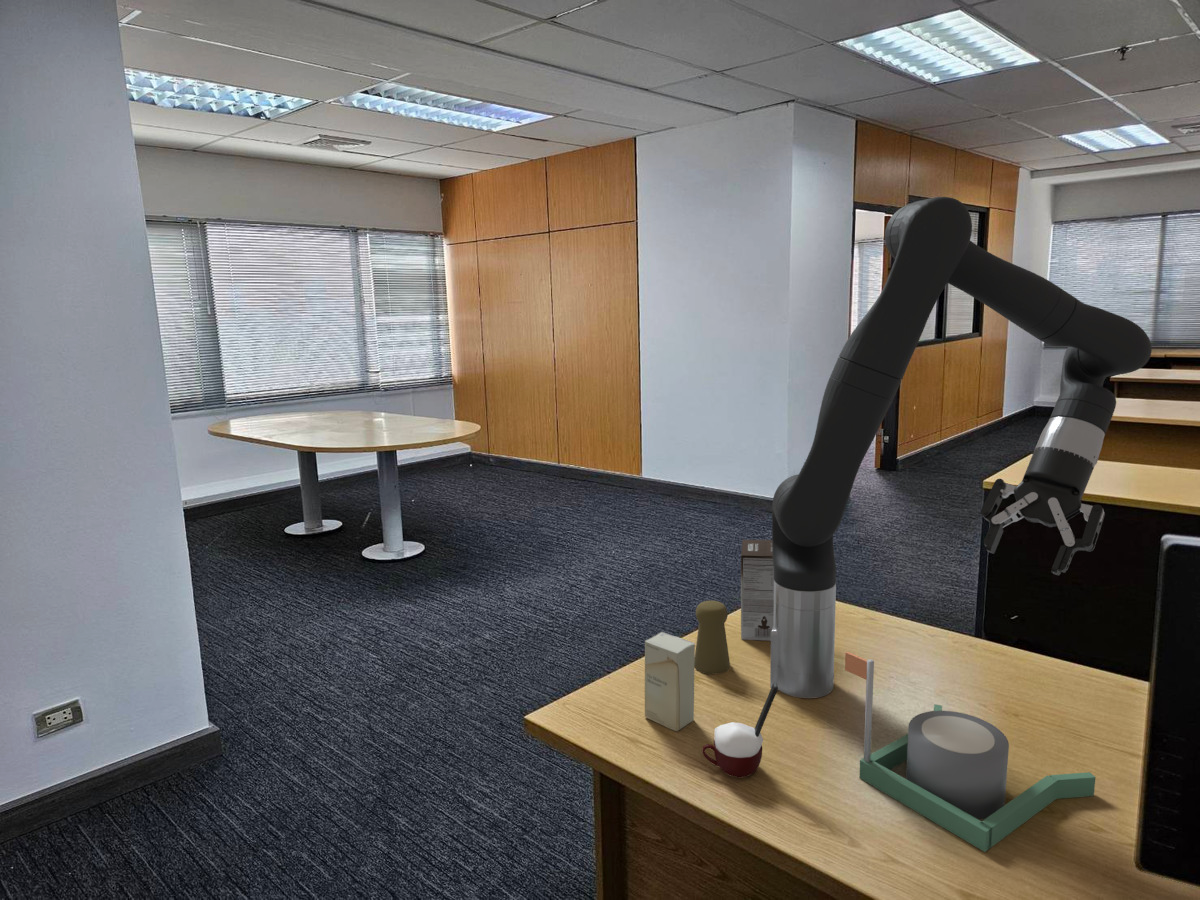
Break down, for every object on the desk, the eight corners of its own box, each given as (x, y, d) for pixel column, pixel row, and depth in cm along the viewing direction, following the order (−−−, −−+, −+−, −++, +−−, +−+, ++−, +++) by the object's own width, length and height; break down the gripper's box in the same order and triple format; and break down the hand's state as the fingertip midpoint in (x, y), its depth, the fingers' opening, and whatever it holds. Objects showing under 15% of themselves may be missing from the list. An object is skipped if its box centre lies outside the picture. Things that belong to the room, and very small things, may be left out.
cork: (708, 653, 132) (708, 593, 129) (737, 664, 127) (737, 602, 125) (686, 666, 127) (685, 604, 125) (715, 677, 123) (715, 613, 121)
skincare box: (643, 717, 112) (641, 640, 110) (662, 705, 115) (661, 630, 113) (678, 733, 108) (676, 653, 106) (696, 720, 111) (695, 642, 109)
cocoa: (699, 776, 99) (693, 691, 96) (716, 749, 104) (710, 668, 102) (771, 793, 94) (767, 705, 92) (785, 764, 100) (781, 680, 97)
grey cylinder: (904, 807, 91) (907, 749, 89) (907, 756, 101) (909, 703, 99) (1008, 829, 87) (1013, 768, 85) (1000, 773, 97) (1004, 718, 95)
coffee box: (741, 619, 145) (741, 538, 142) (776, 620, 144) (776, 539, 141) (740, 640, 136) (740, 554, 133) (777, 642, 135) (778, 555, 132)
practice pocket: (931, 717, 110) (936, 612, 107) (1095, 794, 92) (1107, 671, 89) (840, 766, 99) (843, 651, 96) (1005, 864, 81) (1016, 727, 78)
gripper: (1005, 434, 109) (962, 538, 108) (1120, 460, 99) (1074, 574, 98) (1016, 453, 114) (975, 551, 113) (1126, 479, 104) (1083, 587, 103)
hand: (1021, 562), depth 105 cm, fingers open, 8 cm apart
